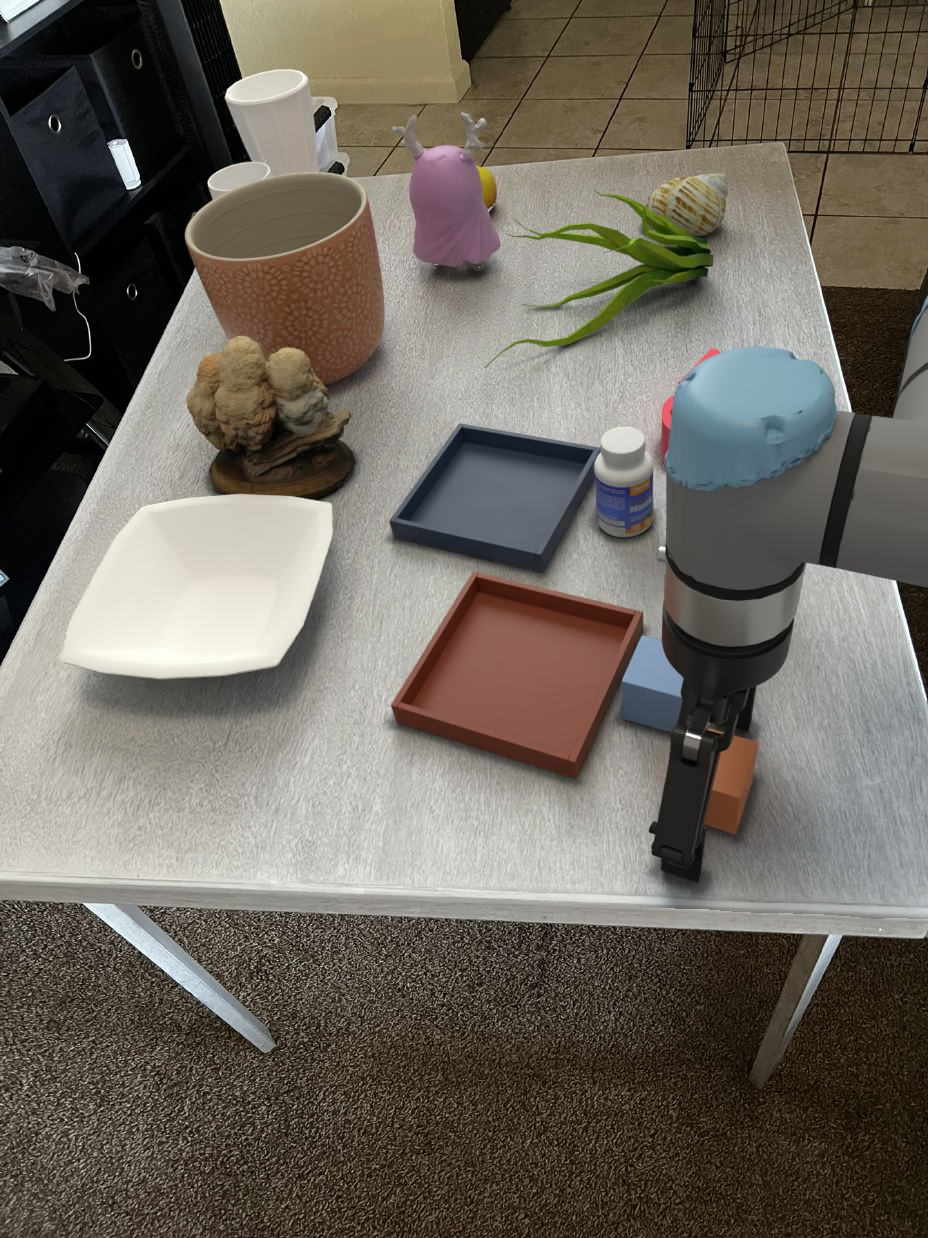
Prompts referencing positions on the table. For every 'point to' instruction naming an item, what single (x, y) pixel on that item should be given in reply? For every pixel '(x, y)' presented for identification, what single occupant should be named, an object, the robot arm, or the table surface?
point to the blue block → (651, 687)
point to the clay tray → (521, 672)
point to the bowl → (202, 587)
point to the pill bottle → (624, 483)
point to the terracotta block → (731, 784)
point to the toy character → (449, 201)
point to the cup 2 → (276, 120)
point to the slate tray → (497, 496)
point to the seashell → (691, 202)
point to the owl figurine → (269, 423)
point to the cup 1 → (237, 177)
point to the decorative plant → (656, 268)
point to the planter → (294, 268)
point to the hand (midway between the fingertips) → (707, 794)
